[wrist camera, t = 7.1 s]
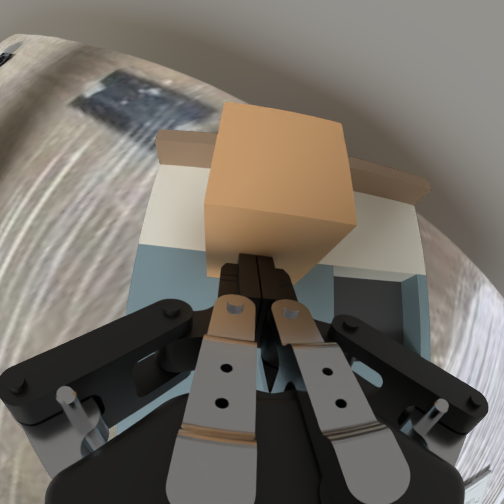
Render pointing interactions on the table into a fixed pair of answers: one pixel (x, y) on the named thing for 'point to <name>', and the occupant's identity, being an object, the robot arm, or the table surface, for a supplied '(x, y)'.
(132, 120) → the table surface
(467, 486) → the external hard drive
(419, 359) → the robot arm
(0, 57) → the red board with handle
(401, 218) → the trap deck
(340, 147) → the orange block
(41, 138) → the table surface
